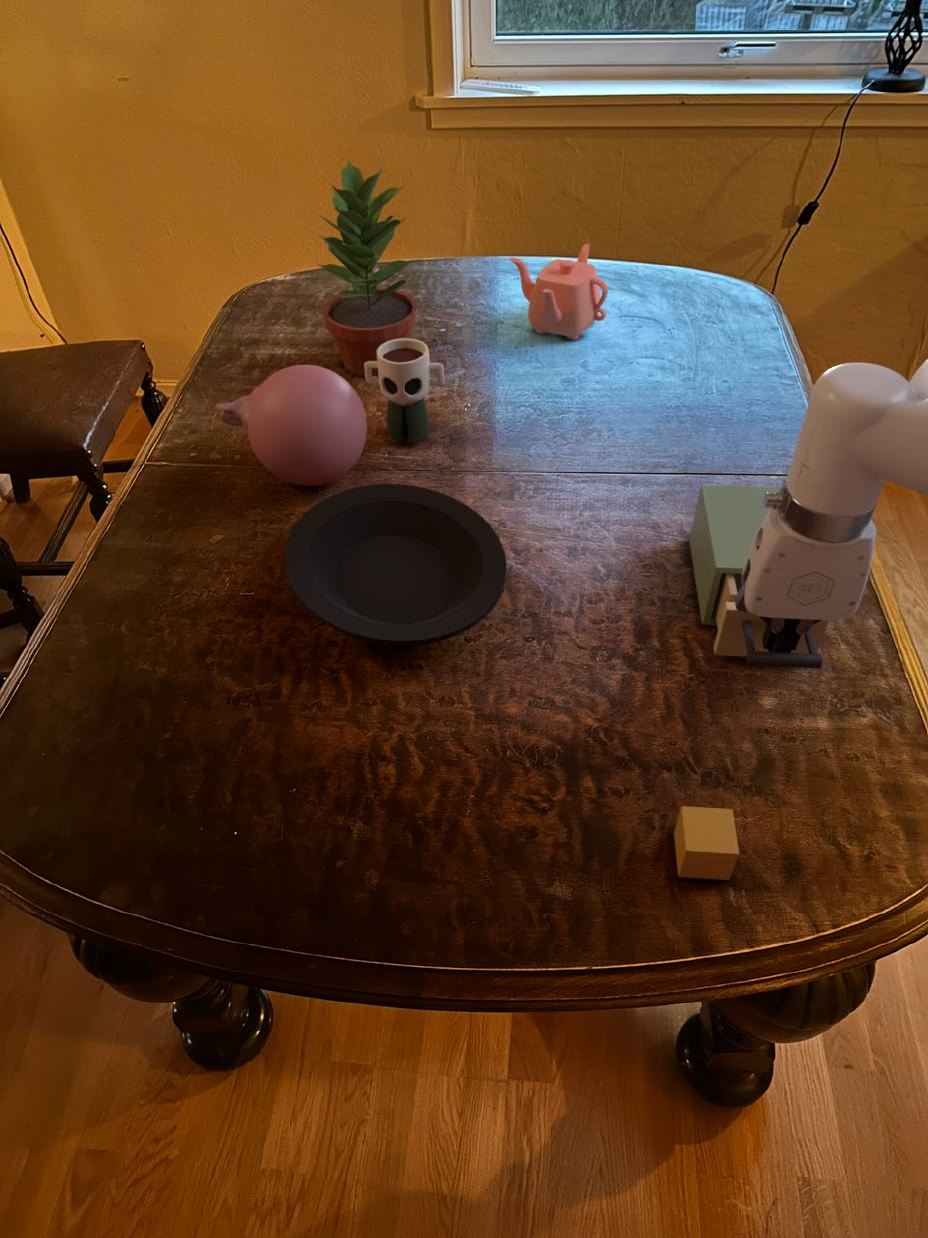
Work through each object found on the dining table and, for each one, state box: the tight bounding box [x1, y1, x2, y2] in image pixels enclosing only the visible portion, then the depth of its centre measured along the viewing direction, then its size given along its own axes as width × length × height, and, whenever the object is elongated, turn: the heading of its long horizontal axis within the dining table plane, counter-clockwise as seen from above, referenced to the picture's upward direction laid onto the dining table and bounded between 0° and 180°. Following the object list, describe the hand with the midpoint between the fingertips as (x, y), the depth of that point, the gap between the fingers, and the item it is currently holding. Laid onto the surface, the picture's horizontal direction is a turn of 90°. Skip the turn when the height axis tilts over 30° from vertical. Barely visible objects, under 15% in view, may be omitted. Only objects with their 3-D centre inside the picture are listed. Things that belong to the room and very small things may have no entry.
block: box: [673, 805, 740, 881], centre depth 77 cm, size 4×4×4 cm
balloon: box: [214, 364, 368, 487], centre depth 115 cm, size 15×20×15 cm
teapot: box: [509, 242, 609, 340], centre depth 145 cm, size 14×14×11 cm
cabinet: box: [689, 484, 782, 626], centre depth 100 cm, size 15×12×9 cm
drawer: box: [713, 573, 830, 669], centre depth 94 cm, size 19×10×7 cm, turn 175°
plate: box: [284, 483, 508, 647], centre depth 102 cm, size 28×24×6 cm
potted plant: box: [316, 158, 419, 377], centre depth 131 cm, size 15×15×30 cm
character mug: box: [364, 338, 445, 443], centre depth 122 cm, size 11×7×13 cm, turn 85°
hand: (776, 651), depth 89 cm, fingers closed
